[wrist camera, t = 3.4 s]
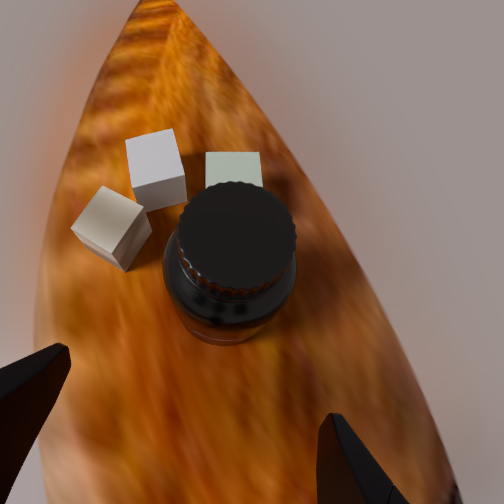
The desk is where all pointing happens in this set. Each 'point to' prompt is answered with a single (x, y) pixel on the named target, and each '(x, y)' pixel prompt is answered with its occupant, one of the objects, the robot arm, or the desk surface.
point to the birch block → (113, 228)
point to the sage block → (233, 167)
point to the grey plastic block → (156, 170)
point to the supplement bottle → (230, 262)
